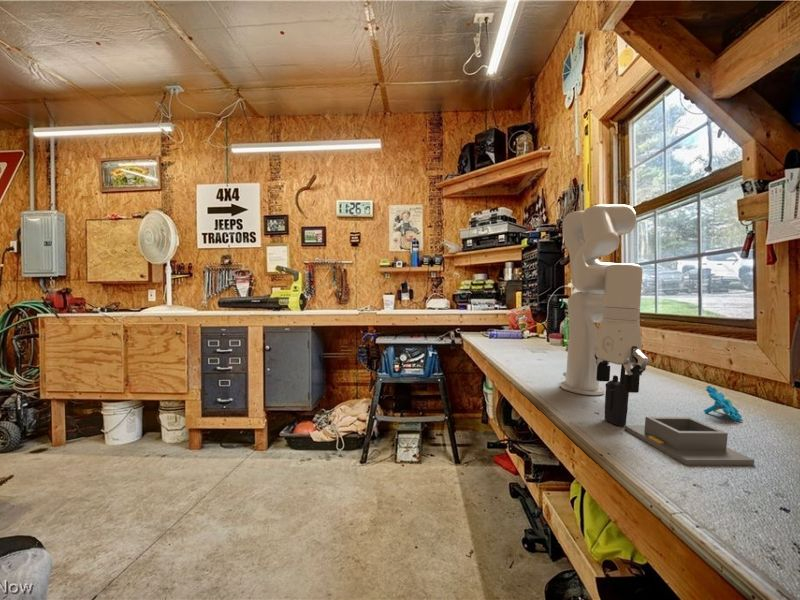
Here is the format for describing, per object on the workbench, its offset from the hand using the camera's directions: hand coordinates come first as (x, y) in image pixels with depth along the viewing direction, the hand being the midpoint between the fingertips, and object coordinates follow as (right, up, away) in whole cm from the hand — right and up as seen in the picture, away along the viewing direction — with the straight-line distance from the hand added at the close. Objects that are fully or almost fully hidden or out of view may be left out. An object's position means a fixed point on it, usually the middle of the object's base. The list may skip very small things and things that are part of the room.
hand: (616, 386), depth 85 cm
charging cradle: (+8, -10, -10) cm, 16 cm away
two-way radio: (0, -9, +1) cm, 9 cm away
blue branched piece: (+34, -11, +9) cm, 37 cm away
